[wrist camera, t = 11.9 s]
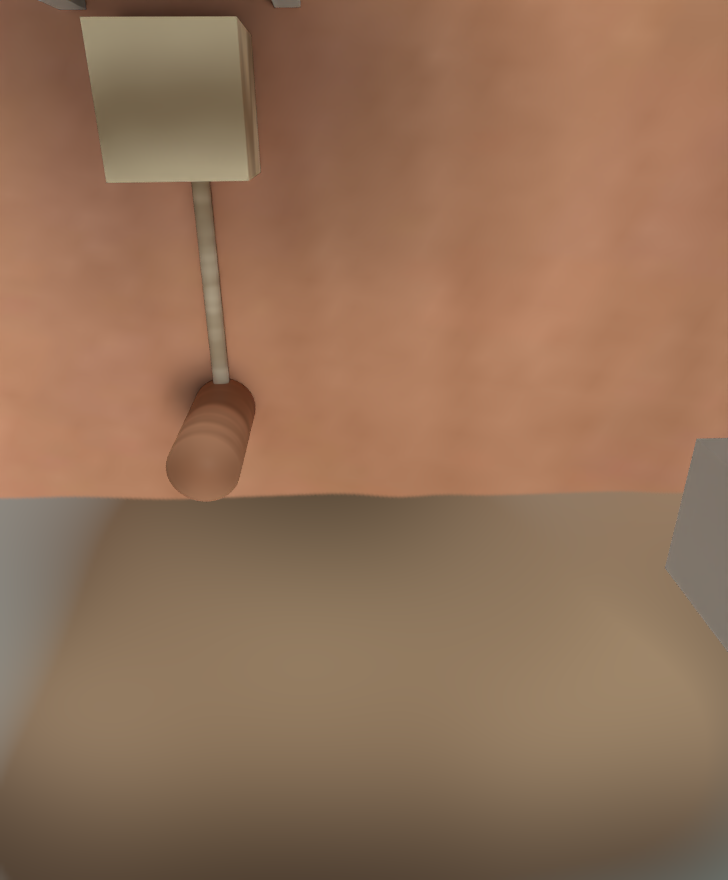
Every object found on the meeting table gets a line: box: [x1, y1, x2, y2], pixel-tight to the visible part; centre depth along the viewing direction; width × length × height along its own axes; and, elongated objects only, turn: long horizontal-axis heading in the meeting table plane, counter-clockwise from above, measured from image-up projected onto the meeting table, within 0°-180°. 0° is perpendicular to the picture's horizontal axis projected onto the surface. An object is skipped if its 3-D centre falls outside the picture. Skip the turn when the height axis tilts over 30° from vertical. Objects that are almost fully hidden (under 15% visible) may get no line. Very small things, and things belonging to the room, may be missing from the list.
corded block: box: [80, 16, 261, 501], centre depth 32 cm, size 20×6×8 cm, turn 1°
